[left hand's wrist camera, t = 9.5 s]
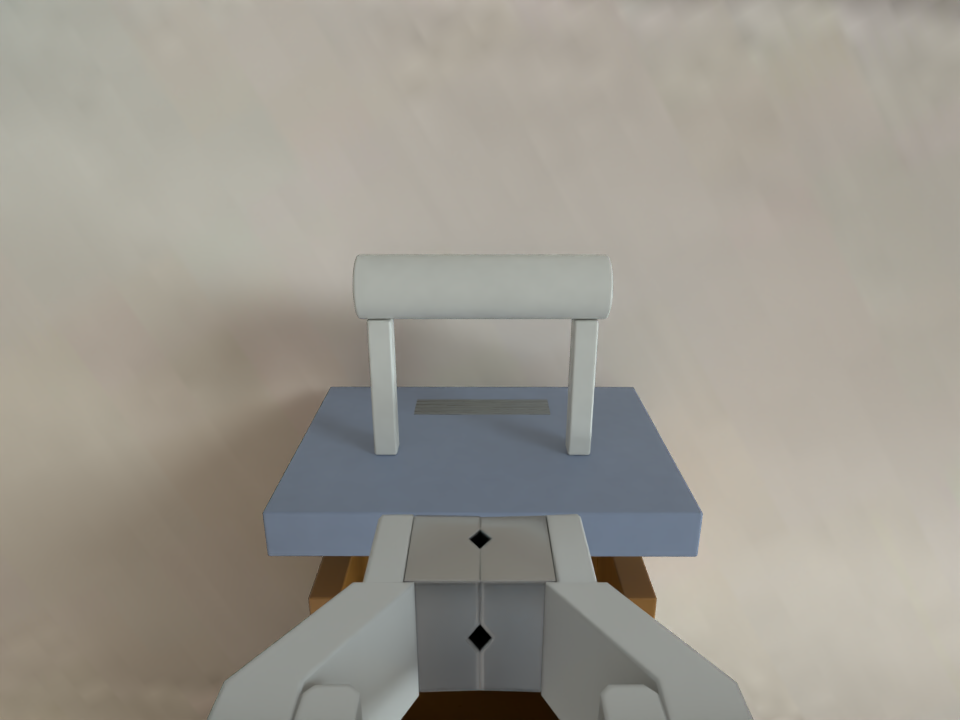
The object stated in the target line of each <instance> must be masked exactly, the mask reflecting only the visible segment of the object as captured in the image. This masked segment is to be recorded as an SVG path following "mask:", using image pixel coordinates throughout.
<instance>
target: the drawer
mask: <svg viewBox="0 0 960 720" xmlns="http://www.w3.org/2000/svg"><path fill="white" fill-rule="evenodd" d="M612 297H613V271H612V264H611V260H610V258H609V256H607V255H358V256H357V257H356V259H355V263H354V268H353V300H354V307H355V311H356V314H357V316H358V317H359V318H361V319H368V321H367V334H368V351H369V368H370V384H371V387H331V388H330V389H329V391H328V393H327V395H326V397H325V399H324V401H323V402H322V404H321V406H320V408H319V410H318V412H317V414H316V415H315V417H314V419H313V421H312V423H311V425H310V426H309V428H308V430H307V432H306V434H305V436H304V438H303V439H302V441H301V443H300V445H299V447H298V449H297V451H296V452H295V454H294V456H293V458H292V460H291V462H290V463H289V465H288V467H287V469H286V471H285V473H284V475H283V476H282V478H281V480H280V482H279V484H278V486H277V488H276V489H275V491H274V493H273V495H272V497H271V499H270V500H269V502H268V504H267V506H266V508H265V510H264V512H263V520H264V528H265V535H266V543H267V551H268V555H269V556H323V558H322V561H321V564H320V567H319V570H318V573H317V575H316V578H315V581H314V584H313V587H312V590H311V592H310V595H309V598H308V600H309V609H310V615H311V614H313V613H314V612H315V611H316V610H318V609H319V608H320V607H322V606H323V605H324V604H326V603H327V602H328V601H329V600H331V599H332V598H333V597H335V596H336V595H337V594H339V593H340V592H341V591H342V590H344V589H345V588H346V587H348V586H349V585H350V584H352V583H353V582H363V579H364V575H365V571H366V567H367V563H368V559H369V555H370V551H371V547H372V543H373V539H374V535H375V531H376V527H377V523H378V519H379V518H380V517H381V516H382V515H398V514H413V515H414V516H415V515H456V516H480V517H503V516H545V515H564V514H578V515H579V516H580V517H581V520H582V524H583V528H584V532H585V536H586V540H587V544H588V548H589V552H590V556H591V560H592V564H593V568H594V571H595V575H596V579H597V582H607V583H608V584H610V585H611V586H612V587H614V588H615V589H616V590H618V591H619V592H620V593H621V594H623V595H624V596H625V597H627V598H628V599H629V600H630V601H632V602H633V603H634V604H636V605H637V606H638V607H640V608H641V609H642V610H643V611H645V612H646V613H647V614H649V615H650V616H651V617H653V618H654V619H655V610H656V601H657V598H656V595H655V593H654V590H653V587H652V584H651V581H650V579H649V576H648V573H647V570H646V567H645V565H644V562H643V559H642V556H676V557H695V556H697V553H698V546H699V539H700V531H701V524H702V516H703V513H702V511H701V509H700V508H699V506H698V504H697V502H696V500H695V499H694V497H693V495H692V493H691V491H690V489H689V488H688V486H687V484H686V482H685V480H684V478H683V477H682V475H681V473H680V471H679V469H678V468H677V466H676V464H675V462H674V460H673V458H672V457H671V455H670V453H669V451H668V449H667V448H666V446H665V444H664V442H663V440H662V438H661V437H660V435H659V433H658V431H657V429H656V427H655V426H654V424H653V422H652V420H651V418H650V417H649V415H648V413H647V411H646V409H645V407H644V406H643V404H642V402H641V400H640V398H639V397H638V395H637V393H636V391H635V389H634V388H633V387H595V372H596V356H597V341H598V325H599V322H598V320H597V319H605V318H607V317H608V316H609V313H610V310H611V305H612ZM394 319H572V324H571V344H570V364H569V384H568V387H397V382H396V361H395V339H394ZM401 720H559V718H558V717H557V716H556V714H555V713H554V712H553V710H552V709H551V708H550V706H549V705H548V704H547V702H546V701H545V700H544V698H543V697H542V696H541V692H518V691H483V690H475V691H441V692H419V696H418V698H417V699H416V700H415V702H414V703H413V704H412V706H411V707H410V708H409V710H408V711H407V712H406V714H405V715H404V716H403V718H402V719H401Z"/></svg>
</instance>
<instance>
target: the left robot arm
mask: <svg viewBox="0 0 960 720" xmlns="http://www.w3.org/2000/svg"><path fill="white" fill-rule="evenodd" d="M475 690H483V691H518V692H541V696H542V697H543V698H544V700H545V701H546V702H547V704H548V705H549V706H550V708H551V709H552V710H553V712H554V713H555V714H556V716H557V717H558V718H559V720H753V718H752V716H751V713H750V711H749V709H748V707H747V704H746V702H745V700H744V698H743V695H742V693H741V691H740V689H739V687H738V684H737V682H735V681H734V680H733V679H731V678H730V677H729V676H728V675H726V674H725V673H724V672H722V671H721V670H720V669H719V668H717V667H716V666H715V665H713V664H712V663H711V662H709V661H708V660H707V659H706V658H704V657H703V656H702V655H700V654H699V653H698V652H697V651H695V650H694V649H693V648H691V647H690V646H689V645H687V644H686V643H685V642H684V641H682V640H681V639H680V638H678V637H677V636H676V635H675V634H673V633H672V632H671V631H669V630H668V629H667V628H665V627H664V626H663V625H662V624H660V623H659V622H658V621H656V620H655V619H654V618H653V617H651V616H650V615H649V614H647V613H646V612H645V611H643V610H642V609H641V608H640V607H638V606H637V605H636V604H634V603H633V602H632V601H630V600H629V599H628V598H627V597H625V596H624V595H623V594H621V593H620V592H619V591H618V590H616V589H615V588H614V587H612V586H611V585H610V584H608V583H607V582H597V579H596V575H595V571H594V568H593V564H592V560H591V556H590V552H589V548H588V544H587V540H586V536H585V532H584V528H583V524H582V520H581V517H580V516H579V515H578V514H564V515H545V516H503V517H480V516H456V515H415V516H414V515H413V514H398V515H382V516H381V517H380V518H379V519H378V523H377V527H376V531H375V535H374V539H373V543H372V547H371V551H370V555H369V559H368V563H367V567H366V571H365V575H364V579H363V582H353V583H352V584H350V585H349V586H348V587H346V588H345V589H344V590H342V591H341V592H340V593H339V594H337V595H336V596H335V597H333V598H332V599H331V600H329V601H328V602H327V603H326V604H324V605H323V606H322V607H320V608H319V609H318V610H316V611H315V612H314V613H313V614H311V615H310V616H309V617H307V618H306V619H305V620H303V621H302V622H301V623H300V624H298V625H297V626H296V627H294V628H293V629H292V630H290V631H289V632H288V633H287V634H285V635H284V636H283V637H281V638H280V639H279V640H277V641H276V642H275V643H274V644H272V645H271V646H270V647H268V648H267V649H266V650H264V651H263V652H262V653H261V654H259V655H258V656H257V657H255V658H254V659H253V660H251V661H250V662H249V663H248V664H246V665H245V666H244V667H242V668H241V669H240V670H238V671H237V672H236V673H235V674H233V675H232V676H231V677H229V678H228V679H227V680H225V681H224V683H223V685H222V687H221V690H220V692H219V694H218V696H217V698H216V701H215V703H214V705H213V707H212V709H211V712H210V714H209V716H208V718H207V720H401V719H402V718H403V716H404V715H405V714H406V712H407V711H408V710H409V708H410V707H411V706H412V704H413V703H414V702H415V700H416V699H417V698H418V696H419V692H441V691H475Z"/></svg>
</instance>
